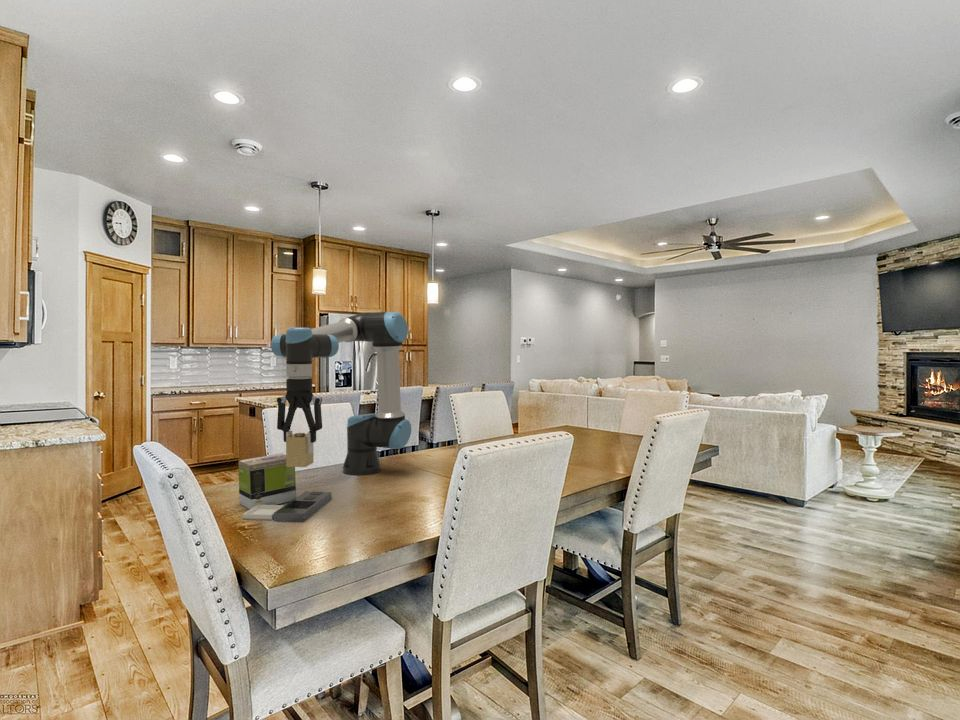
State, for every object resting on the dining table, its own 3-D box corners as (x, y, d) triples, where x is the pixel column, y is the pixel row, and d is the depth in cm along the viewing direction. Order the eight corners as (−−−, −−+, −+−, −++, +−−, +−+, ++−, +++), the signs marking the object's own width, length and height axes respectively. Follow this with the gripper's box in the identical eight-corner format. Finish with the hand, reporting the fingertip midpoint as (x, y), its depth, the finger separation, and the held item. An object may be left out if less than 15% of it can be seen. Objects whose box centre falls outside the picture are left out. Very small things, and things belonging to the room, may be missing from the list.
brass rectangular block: (295, 462, 164) (294, 431, 164) (313, 462, 163) (313, 432, 163) (286, 466, 158) (286, 435, 158) (305, 467, 157) (305, 435, 157)
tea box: (283, 494, 180) (283, 452, 180) (296, 501, 173) (296, 457, 172) (238, 504, 170) (237, 459, 169) (250, 511, 162) (249, 464, 162)
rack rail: (305, 498, 175) (305, 491, 175) (331, 499, 175) (331, 491, 175) (274, 521, 154) (274, 512, 153) (303, 522, 153) (303, 513, 153)
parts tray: (258, 509, 164) (258, 504, 164) (285, 510, 163) (285, 505, 163) (242, 519, 155) (242, 514, 155) (271, 520, 154) (271, 515, 154)
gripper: (263, 378, 157) (264, 454, 158) (324, 379, 155) (325, 456, 156) (275, 376, 164) (276, 449, 165) (333, 377, 163) (334, 450, 163)
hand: (300, 452), depth 160 cm, fingers closed on brass rectangular block, 6 cm apart
